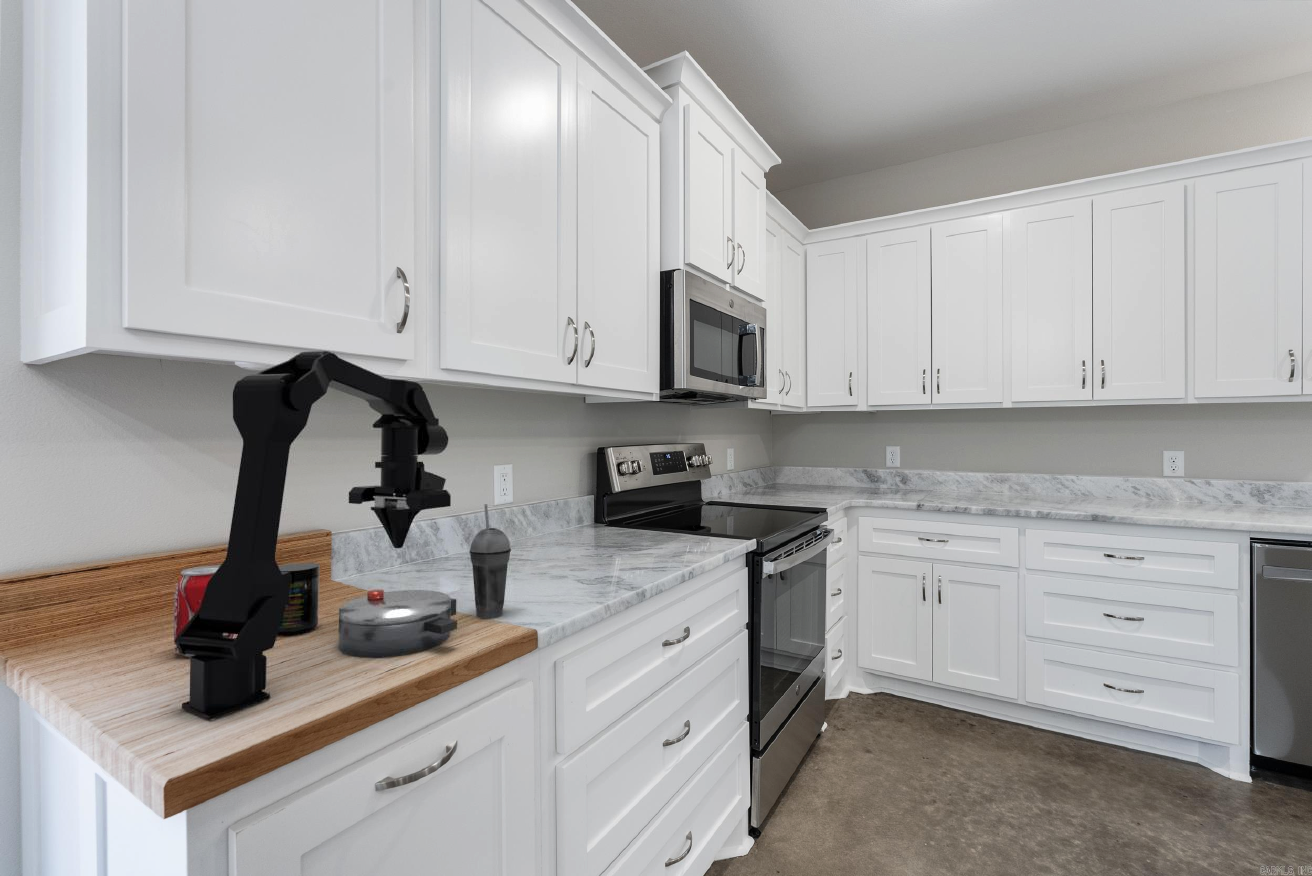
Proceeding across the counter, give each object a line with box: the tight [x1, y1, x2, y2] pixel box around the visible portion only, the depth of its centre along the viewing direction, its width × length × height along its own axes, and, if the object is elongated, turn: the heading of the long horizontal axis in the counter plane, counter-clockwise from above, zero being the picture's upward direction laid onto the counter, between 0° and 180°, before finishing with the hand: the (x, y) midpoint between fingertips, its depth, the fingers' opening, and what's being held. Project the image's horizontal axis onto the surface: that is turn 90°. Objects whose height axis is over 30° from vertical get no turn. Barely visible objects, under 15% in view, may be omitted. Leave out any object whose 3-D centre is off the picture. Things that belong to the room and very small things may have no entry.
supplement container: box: [277, 562, 321, 637], centre depth 96 cm, size 7×7×10 cm
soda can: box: [173, 564, 235, 658], centre depth 86 cm, size 7×7×12 cm
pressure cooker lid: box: [338, 589, 452, 625], centre depth 92 cm, size 16×16×2 cm
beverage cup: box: [468, 503, 512, 620], centre depth 106 cm, size 7×7×20 cm
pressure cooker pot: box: [338, 597, 458, 659], centre depth 93 cm, size 18×23×4 cm
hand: (398, 547), depth 99 cm, fingers closed
